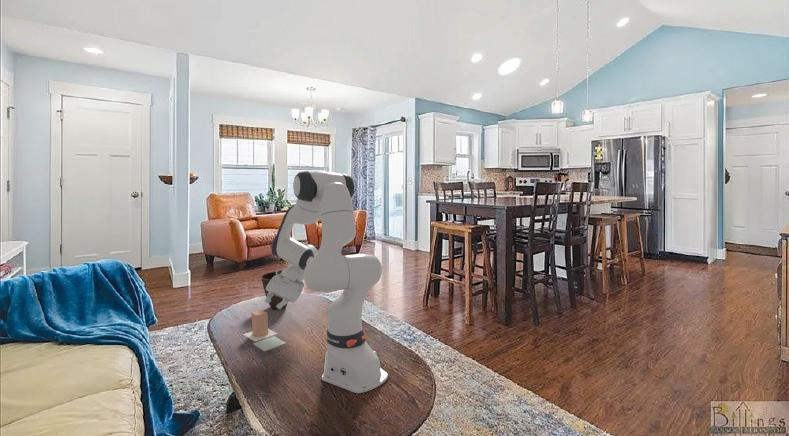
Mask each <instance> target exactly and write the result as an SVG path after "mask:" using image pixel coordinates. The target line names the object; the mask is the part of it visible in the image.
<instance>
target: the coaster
mask: <svg viewBox="0 0 789 436" xmlns="http://www.w3.org/2000/svg"><path fill="white" fill-rule="evenodd" d="M286 344H287V342H286V341H284V340H281V339H280V338H278V337H277V336H275V335H273V336H270V337H267V338H264V339H261V340H258V341H255V342H253V343H252V345H253V346H255V347H256V348H258V349H259V350H261V351H262V352H267V351H270V350H273V349H275V348H278V347H281V346H284V345H286Z"/></svg>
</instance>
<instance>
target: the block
mask: <svg viewBox="0 0 789 436" xmlns="http://www.w3.org/2000/svg"><path fill="white" fill-rule="evenodd" d="M251 325H252V326H251V327H252V329H251V330H252V331H251V332H252V333H253V335H255V336H257V337H260V336H263V335H266V334H268V329H269V317H268V312H267V311H265V310H263V309H259V310H257V311H253V312H251Z"/></svg>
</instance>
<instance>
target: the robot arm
mask: <svg viewBox="0 0 789 436" xmlns="http://www.w3.org/2000/svg"><path fill="white" fill-rule="evenodd" d="M292 187H293V193H294V196H295V198H296V202H295V204H294V205H291V206H289V207H288V209H287V210H286V212H285V213H284V215H283V218H282V221H281V223H280V225H279V228H278V230H277V233H276V235H275V237H274V238H273V240H272V242H271V244H270V250H271V253H272V255H273V256H275V257H276V258H279V259H282V260H283V261H285V262H286V263H288V264H289V265H288V266H287V267H286V268H284V269H278V270H276V271H275V272H276V275H275V276H274V277H273V278H272V279H271V280H270V282H269V283H268V284H267V286H266V290H267V291H269V293H268V295H267V297H265V299H264V302H265V303H266V304H268V305H269V303H270V302H271V298H272V297H273V296H274V295H276V296H279V297H281V298H283V301H282V302H280V304H279V303H278V304H277V306H276V307H277V308H278V309H277V310H282V309H281V308H282V307H283V306H284V305H286V304H287V305H288V303H289V302H290V303H292V304H295V302H297V300H298V299H299V297H300V296H301V294H302V292H303V291H304V290H303V289H304V288H305V285H306V286H307V288H308V289H309V290H310V291H312V292H321V293H324V292H325V293H328V292H335V291H341V290H342V291H343V292H342V293H341V295H340V296H339V297H337V298H336V299H334V300H333V301H332V302H331V303H330V304H329V305H328V309H327V330H326V342H327V346H326V351H325V354H324V364H323V365H324V366H323V367H324V368H323V373H322V374H321V381H323V382H325V383H329V384H331V385H333V386H336V387H339V388H341V389H344V390H347V391H349V392H352V393H354V394H362V393H366V392H369V391H372V390H373V389H374V390H375V389H376V388H378V387H379V386H381V385H382V384H384V383H385V382H386V381H387V380H388V378H389V374H388V373H387V371H385V370H384V369H383V368H382V367H381V361H380V358H379V357H378V354H377V351H375V350H373V349H372V347H370V345H369V344H368V343H367V341H366V339H368V334H365V330H364V329H363V327H362V321H363V319H362V317H363V308H364V307H363V306H364V302H365V300H366V298H367V295H368V294H369V292H370V291H371V290H372V288H373V287H374V286H375V285H376V284H378V283H379V281H380V280H381V277H382V274H383V266H382V263H381V261H380V260H379V258H378V257H377V256H376V255H373V254H366V253H358V254H347V255H346V254H345V255H342V249H343V247H345V246H346V245H348V244H349V243H351V242H352V241H353V240H354V239H355V237H356V234H357V228H356V220H355V210H354V206H353V201H352V197H353V196H354V193H355V181H354V179H353V178H352V176H351V175H349V174H347V173H340V172H339V173H338V172H332V171H331V172H330V171H325V170H322V171H320V170H319V171H318V170H317V171H308V170H305V171H299V172H298V173H297V174H296V175H295V176H294V180H293V185H292ZM320 220H321V221H320ZM319 221H320V222H321V241H320V246H319V248H318V249H317V248H316V246H314V245H312V244H309V243H308V244H306V245H305V244H303V243H301V242H300V241H298V240H296V239H294V238H293V237H292V236H291V232H292V230H293V227H294V226H295V224H297V225H298V224H299V225H303V226H305V225H306V226H307V225H308V226H309V225H313V224H315V223H317V222H319ZM303 281H304V282H303Z"/></svg>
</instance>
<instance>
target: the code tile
mask: <svg viewBox="0 0 789 436" xmlns="http://www.w3.org/2000/svg"><path fill="white" fill-rule="evenodd" d="M242 335H244V336H245V337H246V338H248V339H250V340H252V341H253V343H255V342H258V341H261V340H264V339H267V338H270V337H273V336H275V335H278V333H277V332H275V331H274V330H272V329H270V328H268V334H266V335H263V336H260V337H257V336H255V335H253V333H252V331H249V332H246V333H243V334H242Z"/></svg>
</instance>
